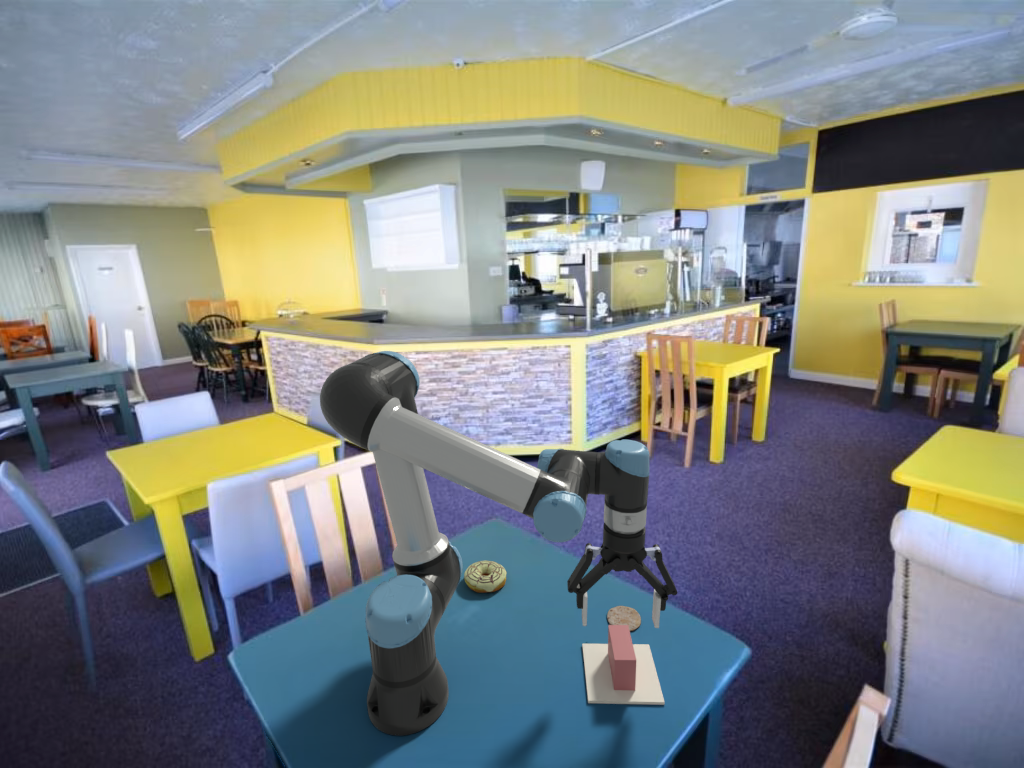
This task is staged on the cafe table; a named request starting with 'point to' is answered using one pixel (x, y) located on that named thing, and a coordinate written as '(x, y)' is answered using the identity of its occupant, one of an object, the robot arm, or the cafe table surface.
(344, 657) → the cafe table surface
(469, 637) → the cafe table surface
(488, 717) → the cafe table surface
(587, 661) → the serving mat
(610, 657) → the card deck box
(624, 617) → the flatbread
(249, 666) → the cafe table surface
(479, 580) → the decorated donut
